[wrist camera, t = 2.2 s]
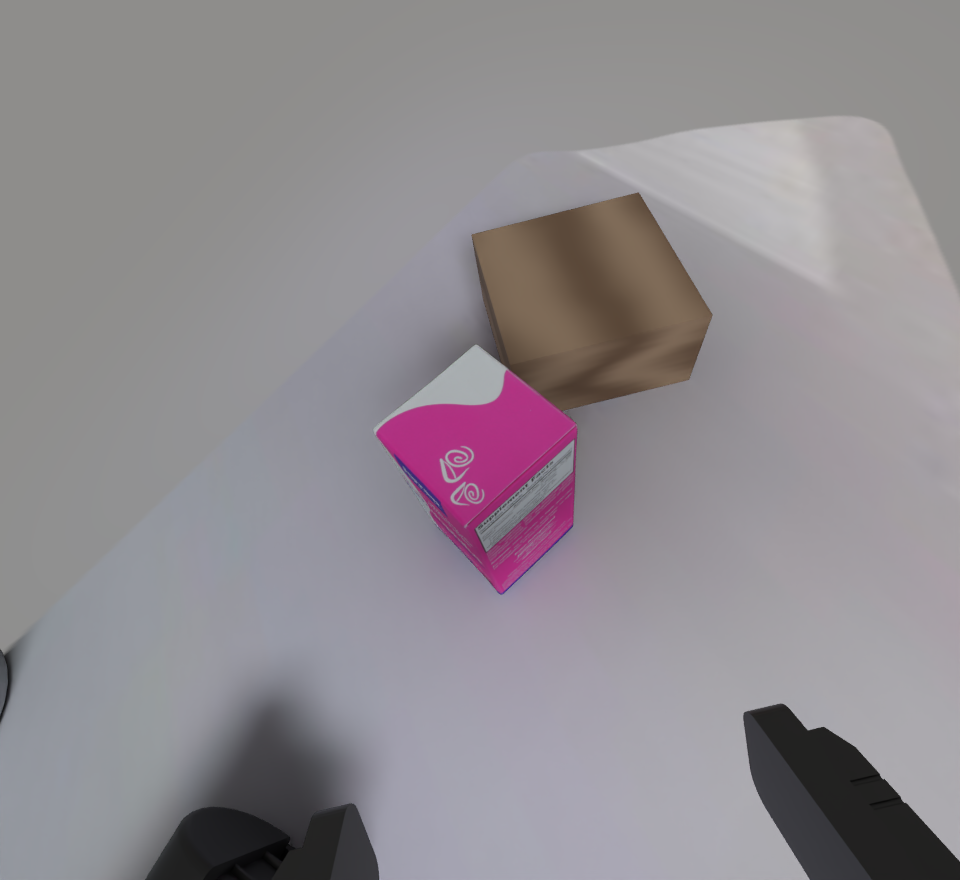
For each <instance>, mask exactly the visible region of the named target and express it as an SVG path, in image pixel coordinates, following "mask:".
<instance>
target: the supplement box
mask: <svg viewBox="0 0 960 880" xmlns="http://www.w3.org/2000/svg"><path fill="white" fill-rule="evenodd" d="M373 432H374V434H375V435H376V437H377V438H378V440H379V441H380V443H381V444H382V445H383V447H384V449H385V450H386V452H387V453H388V454H389V456H390V458H391V459H392V461H393V462H394V464H395V465H396V467H397V468H398V470H399V471H400V473H401V474H402V476H403V477H404V479H405V481H406V482H407V484H408V485H409V486H410V488H411V489H412V491H413V492H414V494H415V495H416V497H417V498H418V500H419V501H420V503H421V504H422V506H423V507H424V509H425V510H426V512H427V513H428V515H429V516H430V518H431V519H432V520H433V522H434V523H435V525H436V526H437V527H438V528H439V529H440V530H441V531H442V532H443V533H445V534H446V535H447V536H448V537H449V538H450V539H451V540H452V542H453V543H454V544H455V545H456V546H457V547H458V548H459V549H460V550H461V551H462V552H463V553H464V554H465V556H466V557H467V558H468V559H469V560H470V561H471V562H472V563H473V564H474V565H475V566H476V568H477V569H478V570H479V571H480V572H481V573H482V574H483V575H484V576H485V577H486V578H487V580H488V581H489V582H490V583H491V584H492V586H493V587H494V588H495V589H496V590H497V592H498V593H499V594H504V593H505V592H506V591H507V590H508V589H509V588H510V587H511V586H512V585H513V584H514V583H515V582H516V581H517V580H518V579H519V578H520V577H521V576H522V575H523V574H524V573H525V572H527V571H528V570H529V569H530V568H531V567H532V566H533V565H534V564H535V563H536V562H537V561H538V560H539V559H540V558H541V557H542V556H543V555H544V554H545V553H546V552H547V551H548V550H550V549H551V548H552V547H553V546H554V545H555V544H556V543H557V542H558V541H559V540H560V539H561V538H562V537H563V536H564V535H565V534H566V533H567V532H568V531H569V530H570V529H571V528H572V527H573V514H574V511H573V510H574V490H575V461H576V444H577V424H576V423H575V422H574V421H573V420H572V419H571V418H569V417H568V416H567V415H566V414H564V413H563V412H562V411H561V410H560V409H558V408H557V407H556V406H555V405H554V404H552V403H551V402H550V401H548V400H547V399H546V398H544V397H543V396H542V395H541V394H540V393H539V392H537V391H536V390H535V389H533V388H532V387H531V386H530V385H529V384H527V383H526V382H525V381H523V380H522V379H521V378H519V377H518V376H517V375H516V374H514V373H513V372H512V371H511V370H509V369H508V368H507V367H506V366H504V365H503V364H501V363H500V362H499V361H498V360H496V359H495V358H494V357H492V356H491V355H490V354H489V353H488V352H486V351H485V350H484V349H482V348H481V347H480V346H478V345H477V344H476V345H474V346H472V347H471V348H470V349H469V350H468V351H467V352H466V353H464V354H463V355H462V356H461V357H460V358H459V359H457V360H456V361H455V362H454V363H453V364H451V365H450V366H449V367H448V368H447V369H446V370H444V371H443V372H442V373H441V374H440V375H438V376H437V377H436V378H435V379H434V380H432V381H431V382H430V383H429V384H428V385H426V386H425V387H424V388H423V389H421V390H420V391H419V392H418V393H416V394H415V395H414V396H413V397H411V398H410V399H409V400H408V401H406V402H405V403H404V404H403V405H401V406H400V407H399V408H398V409H396V410H395V411H394V412H393V413H391V414H390V415H389V416H388V417H386V418H385V419H384V420H383V421H381V422H380V423H379V424H378V425H376V426H375V427H374V428H373Z"/></svg>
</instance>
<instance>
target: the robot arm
mask: <svg viewBox="0 0 960 880" xmlns="http://www.w3.org/2000/svg"><path fill="white" fill-rule="evenodd" d="M7 685H8V678H7V665H6V662H5V658H4V655H3V653H2V651H1V650H0V714H1V712H2V709H3V706H4V703H5V697H6V691H7ZM743 719H744V727H745V734H746V742H747V749H748V756H749V764H750V770H751V775H752V778H753V781H754V784H755V787H756V789H757V792H758V794H759V796H760V798H761V800H762V802H763V804H764V806H765V808H766V809H767V811H768V813H769V814H770V816H771V818H772V819H773V821H774V822H775V824H776V826H777V827H778V829H779V830H780V832H781V834H782V835H783V837H784V838H785V840H786V842H787V843H788V845H789V847H790V848H791V850H792V851H793V853H794V855H795V856H796V858H797V859H798V861H799V863H800V864H801V866H802V867H803V869H804V871H805V872H806V874H807V875H808V877H809V879H810V880H960V861H959V860H958V859H957V858H956V857H955V856H954V855H953V854H952V853H951V851H950V850H949V849H948V848H947V847H946V846H945V845H944V844H943V843H942V842H941V841H940V839H939V838H938V837H937V836H936V835H935V834H934V833H933V832H932V831H931V830H930V828H929V827H928V826H927V825H926V824H925V823H924V822H923V821H922V820H921V819H920V818H919V816H918V815H917V814H916V813H915V812H914V811H913V810H912V809H911V808H910V807H909V805H908V804H907V803H904V802H903V801H902V800H901V797H900V796H899V795H898V793H897V792H896V791H895V790H894V789H893V788H892V787H891V786H890V785H889V784H888V782H887V781H886V780H885V779H882V778H881V776H880V774H879V773H878V772H877V770H876V769H875V768H874V767H873V766H872V765H871V764H870V763H869V762H868V761H867V759H866V758H865V757H864V756H863V755H862V754H861V753H860V752H859V751H858V750H857V749H856V747H854V746H853V745H851V744H850V743H848V742H847V741H845V740H843V739H842V738H840V737H839V736H837V735H836V734H834V733H833V732H831V731H829V730H828V729H826V728H825V727H821V728H817V729H812V730H807V729H806V728H805V727H804V726H803V724H802V723H801V722H800V721H799V720H798V718H797V717H796V716H795V715H794V714H793V712H792V711H791V710H790V709H789V708H788V707H787V706H786V705H784V704H777V705H772V706H768V707H764V708H760V709H755V710H751V711H747V712H745V713H744V715H743ZM271 880H379V871H378V864H377V859H376V856H375V853H374V850H373V848H372V845H371V843H370V840H369V838H368V835H367V833H366V830H365V828H364V825H363V822H362V820H361V817H360V815H359V812H358V810H357V808H356V806H355V805H354V804H352V803H351V804H347V805H343V806H338V807H334V808H330V809H326V810H321V811H317V812H316V813H314V815H313V816H312V819H311V821H310V824H309V828H308V831H307V835H306V838H305V842H304V845H303V848H299V849H295V850H290V851H289V852H288V854H287V855H286V857H285V859H284V860H283V862H282V863H281V865H280V866H279V868H278V870H277V871H276V873H275V874H274V876H273V878H272V879H271Z"/></svg>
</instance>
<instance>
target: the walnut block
mask: <svg viewBox="0 0 960 880" xmlns="http://www.w3.org/2000/svg"><path fill="white" fill-rule="evenodd" d="M472 240H473V245H474V251H475V256H476V262H477V267H478V273H479V278H480V284H481V289H482V295H483V300H484V304H485V307H486V311H487V314H488V318H489V321H490V325H491V328H492V332H493V335H494V339H495V343H496V346H497V350H498V353H499V357H500V360H501V364H503V365H504V366H506V367H507V368H508V369H509V370H511V371H512V372H513V373H514V374H516V375H517V376H518V377H519V378H521V379H522V380H523V381H525V382H526V383H527V384H529V385H530V386H531V387H532V388H533V389H535V390H536V391H537V392H539V393H540V394H541V395H542V396H543V397H544V398H546V399H547V400H548V401H550V402H551V403H552V404H554V405H555V406H556V407H557V408H558V409H560V410H561V411H563V410H567V409H571V408H576V407H580V406H584V405H588V404H592V403H596V402H600V401H604V400H608V399H612V398H616V397H620V396H625V395H629V394H633V393H637V392H641V391H645V390H649V389H653V388H657V387H661V386H665V385H669V384H674V383H678V382H682V381H686V380H689V378H690V375H691V373H692V370H693V367H694V364H695V362H696V359H697V356H698V354H699V351H700V348H701V345H702V343H703V340H704V337H705V334H706V332H707V329H708V326H709V323H710V321H711V318H712V313H711V312H710V310H709V308H708V307H707V305H706V303H705V302H704V300H703V298H702V297H701V295H700V293H699V292H698V290H697V288H696V287H695V285H694V283H693V282H692V280H691V278H690V277H689V275H688V273H687V272H686V270H685V268H684V267H683V265H682V263H681V262H680V260H679V259H678V257H677V255H676V254H675V252H674V250H673V249H672V247H671V245H670V244H669V242H668V240H667V239H666V237H665V235H664V234H663V232H662V230H661V229H660V227H659V225H658V224H657V222H656V220H655V219H654V217H653V215H652V214H651V212H650V210H649V209H648V207H647V205H646V204H645V202H644V200H643V199H642V197H641V195H640V194H639V193H635V194H631V195H627V196H623V197H619V198H615V199H611V200H607V201H603V202H599V203H595V204H591V205H587V206H583V207H579V208H575V209H571V210H567V211H563V212H559V213H555V214H551V215H547V216H543V217H540V218H536V219H532V220H528V221H524V222H520V223H516V224H512V225H508V226H504V227H500V228H496V229H492V230H488V231H484V232H480V233H476V234H472Z"/></svg>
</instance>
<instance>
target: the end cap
mask: <svg viewBox="0 0 960 880" xmlns="http://www.w3.org/2000/svg"><path fill="white" fill-rule="evenodd" d="M289 840H290V837H289V836H288V835H286V834H285V833H283V832H282V831H281V830H279V829H278V828H276V827H274V826H273V825H271V824H269V823H267V822H265V821H263V820H261V819H259V818H257V817H255V816H252V815H250V814H247V813H244V812H241V811H238V810H234V809H228V808H221V807H208V808H202V809H199V810H196V811H193V812H191V813H190V814H189V815H187V816H186V817H185V818H184V819H183V820H182V821H181V823H180V824H179V826H178V828H177V829H176V831H175V832H174V834H173V836H172V837H171V839H170V841H169V842H168V844H167V845H166V847H165V849H164V850H163V852H162V853H161V855H160V857H159V858H158V860H157V861H156V863H155V865H154V866H153V868H152V869H151V871H150V873H149V874H148V876H147V878H146V879H145V880H271V879H272V878H273V876H274V874H275V873H276V871H277V870H278V868H279V866H280V865H281V863H282V862H283V860H284V859H285V857H286V855H287V854H288V852H289V851H290V850H295V848H294V847H292V846H290V845H289V844H288V842H289Z"/></svg>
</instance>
